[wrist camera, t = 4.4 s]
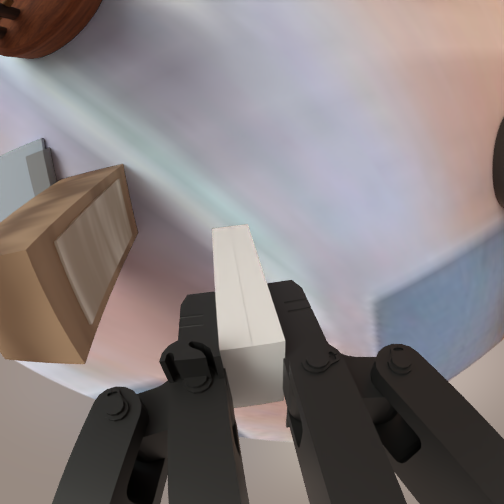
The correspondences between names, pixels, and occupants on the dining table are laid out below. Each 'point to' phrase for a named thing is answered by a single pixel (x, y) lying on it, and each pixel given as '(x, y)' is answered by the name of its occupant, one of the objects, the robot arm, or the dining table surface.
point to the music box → (41, 25)
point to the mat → (24, 175)
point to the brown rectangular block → (63, 265)
